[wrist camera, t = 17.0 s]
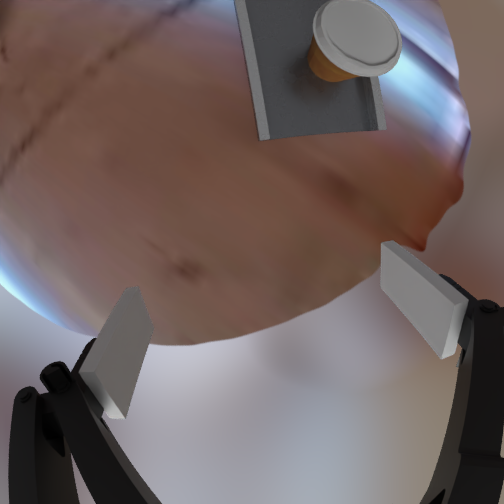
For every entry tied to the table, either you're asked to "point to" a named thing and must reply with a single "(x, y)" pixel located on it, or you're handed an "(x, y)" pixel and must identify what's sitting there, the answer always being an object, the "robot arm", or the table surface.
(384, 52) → the disposable coffee cup
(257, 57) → the tray
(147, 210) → the table surface
